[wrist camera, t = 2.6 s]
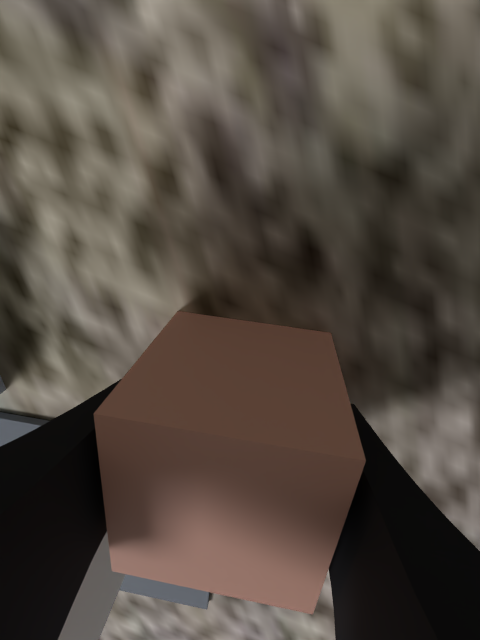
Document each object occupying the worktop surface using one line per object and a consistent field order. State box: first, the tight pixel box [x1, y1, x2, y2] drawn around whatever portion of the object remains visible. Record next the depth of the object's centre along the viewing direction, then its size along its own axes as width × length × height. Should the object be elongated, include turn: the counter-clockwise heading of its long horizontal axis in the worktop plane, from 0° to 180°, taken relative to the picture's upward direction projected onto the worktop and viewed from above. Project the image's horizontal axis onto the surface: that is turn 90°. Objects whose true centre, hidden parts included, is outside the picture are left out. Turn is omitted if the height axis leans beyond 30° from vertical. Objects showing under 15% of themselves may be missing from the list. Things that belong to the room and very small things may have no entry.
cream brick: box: [58, 532, 125, 640], centre depth 12 cm, size 5×5×5 cm
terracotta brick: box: [94, 311, 366, 614], centre depth 9 cm, size 5×5×5 cm
